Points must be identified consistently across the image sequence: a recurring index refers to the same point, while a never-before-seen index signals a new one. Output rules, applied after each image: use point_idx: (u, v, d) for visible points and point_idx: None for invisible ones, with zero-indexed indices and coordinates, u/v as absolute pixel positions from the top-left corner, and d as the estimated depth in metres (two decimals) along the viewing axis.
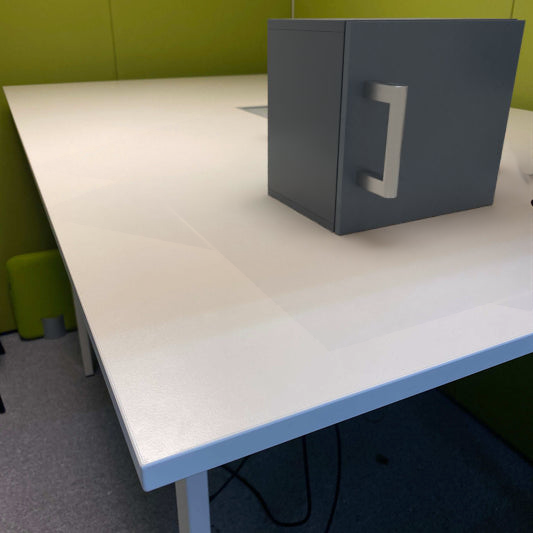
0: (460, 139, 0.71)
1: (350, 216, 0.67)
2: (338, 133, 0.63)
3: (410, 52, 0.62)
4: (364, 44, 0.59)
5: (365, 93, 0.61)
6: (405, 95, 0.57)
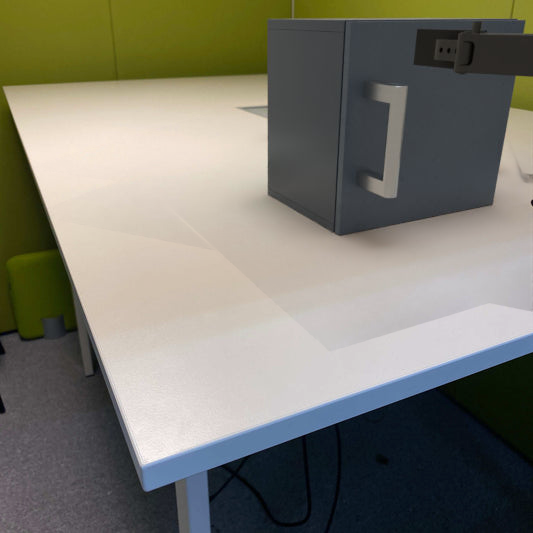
0: (460, 139, 0.71)
1: (350, 216, 0.67)
2: (338, 133, 0.63)
3: (410, 52, 0.62)
4: (364, 44, 0.59)
5: (365, 93, 0.61)
6: (405, 95, 0.57)
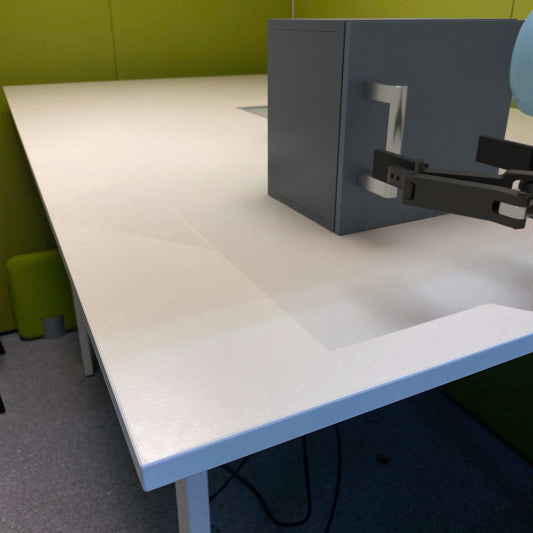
0: (460, 139, 0.71)
1: (350, 216, 0.67)
2: (338, 133, 0.63)
3: (410, 52, 0.62)
4: (364, 44, 0.59)
5: (365, 93, 0.61)
6: (405, 95, 0.57)
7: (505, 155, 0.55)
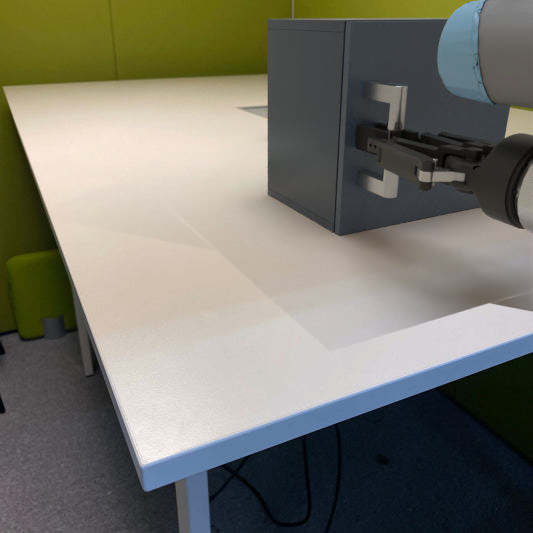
0: None
1: (350, 216, 0.67)
2: (338, 133, 0.63)
3: (410, 52, 0.62)
4: (364, 44, 0.59)
5: (365, 93, 0.61)
6: (405, 95, 0.57)
7: None
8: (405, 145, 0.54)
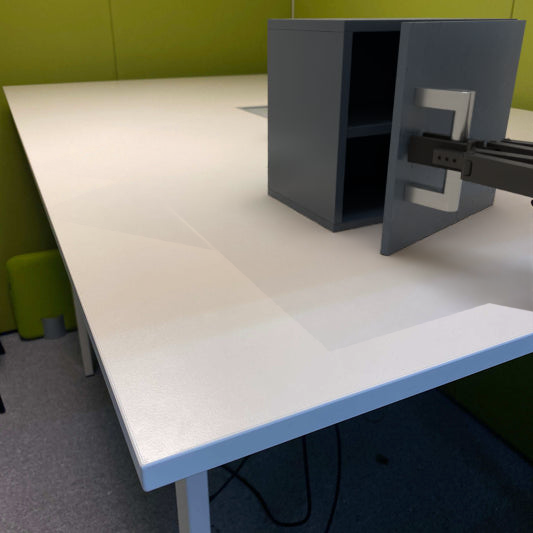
0: None
1: (397, 233, 0.62)
2: (338, 133, 0.63)
3: (450, 54, 0.58)
4: (418, 47, 0.54)
5: (418, 100, 0.56)
6: (473, 101, 0.53)
7: None
8: (494, 156, 0.50)
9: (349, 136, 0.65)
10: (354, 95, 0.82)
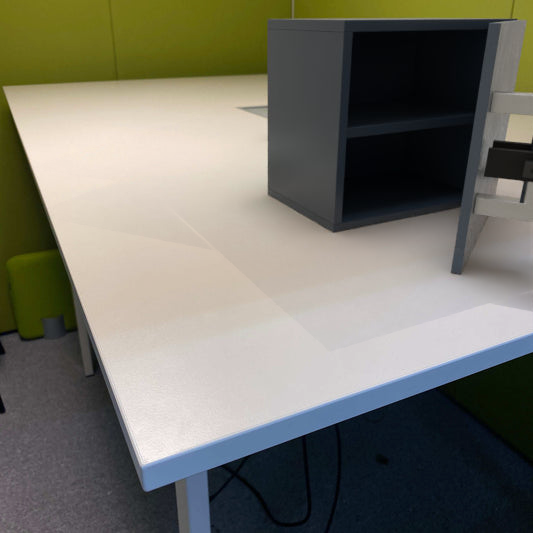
0: None
1: (466, 249, 0.58)
2: (338, 133, 0.63)
3: (505, 57, 0.55)
4: (499, 49, 0.50)
5: (496, 107, 0.52)
6: None
7: None
8: None
9: (349, 136, 0.65)
10: (354, 95, 0.82)
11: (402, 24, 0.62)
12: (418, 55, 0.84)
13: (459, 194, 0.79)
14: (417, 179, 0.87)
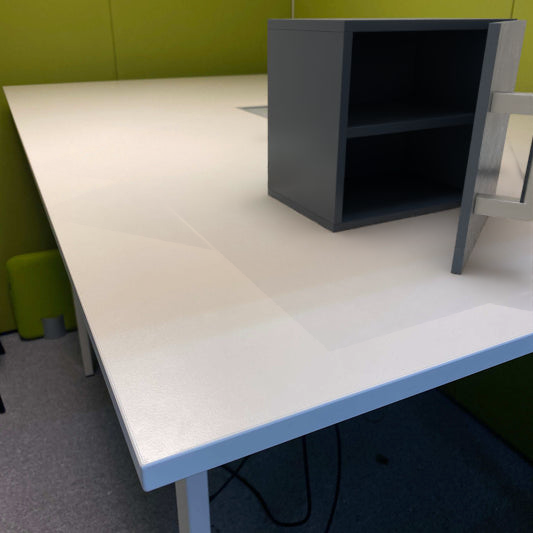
0: (499, 145, 0.68)
1: (466, 249, 0.58)
2: (338, 133, 0.63)
3: (505, 57, 0.55)
4: (499, 49, 0.50)
5: (496, 107, 0.52)
6: None
7: None
8: None
9: (349, 136, 0.65)
10: (354, 95, 0.82)
11: (402, 24, 0.62)
12: (418, 55, 0.84)
13: (459, 194, 0.79)
14: (417, 179, 0.87)
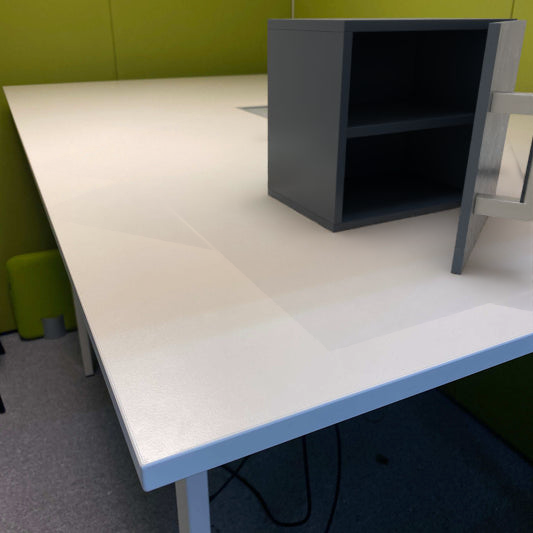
0: (499, 145, 0.68)
1: (466, 249, 0.58)
2: (338, 133, 0.63)
3: (505, 57, 0.55)
4: (499, 49, 0.50)
5: (496, 107, 0.52)
6: None
7: None
8: None
9: (349, 136, 0.65)
10: (354, 95, 0.82)
11: (402, 24, 0.62)
12: (418, 55, 0.84)
13: (459, 194, 0.79)
14: (417, 179, 0.87)
